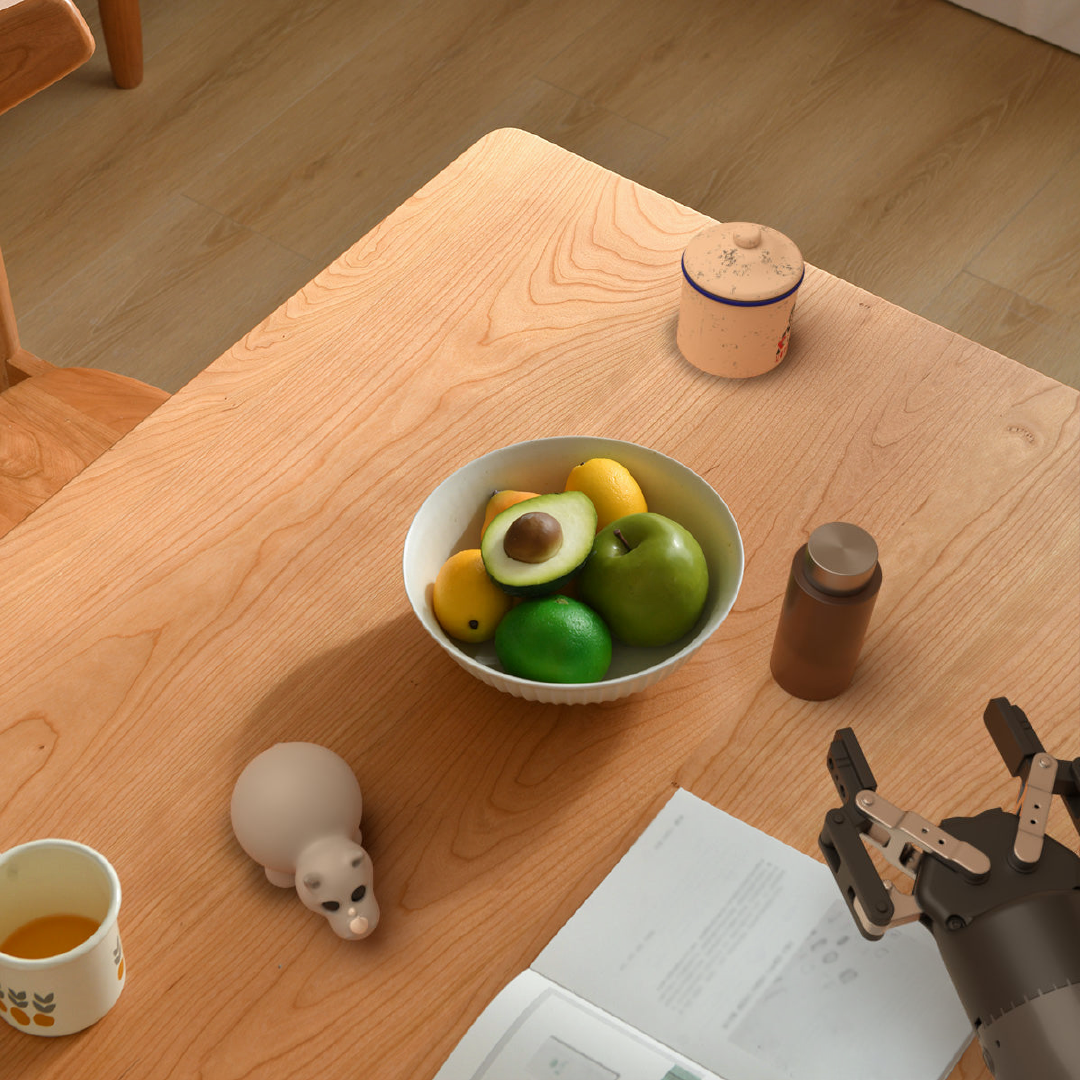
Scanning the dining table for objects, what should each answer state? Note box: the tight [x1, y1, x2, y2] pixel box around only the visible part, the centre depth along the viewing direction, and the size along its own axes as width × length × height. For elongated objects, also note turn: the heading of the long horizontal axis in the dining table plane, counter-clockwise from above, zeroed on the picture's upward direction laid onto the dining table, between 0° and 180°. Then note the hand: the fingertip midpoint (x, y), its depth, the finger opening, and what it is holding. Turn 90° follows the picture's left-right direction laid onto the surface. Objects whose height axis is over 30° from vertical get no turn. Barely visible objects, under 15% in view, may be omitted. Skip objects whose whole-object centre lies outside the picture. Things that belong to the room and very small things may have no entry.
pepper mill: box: [769, 521, 883, 702], centre depth 82 cm, size 5×5×13 cm
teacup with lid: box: [676, 221, 806, 379], centre depth 103 cm, size 12×9×12 cm
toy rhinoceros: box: [230, 741, 381, 941], centre depth 74 cm, size 7×12×8 cm, turn 29°
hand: (916, 720), depth 71 cm, fingers open, 8 cm apart
